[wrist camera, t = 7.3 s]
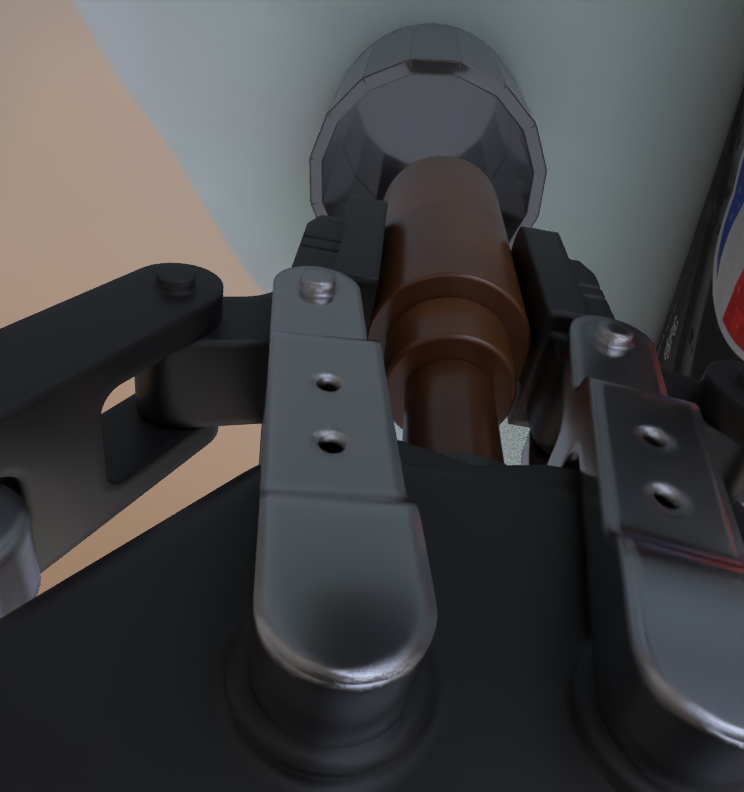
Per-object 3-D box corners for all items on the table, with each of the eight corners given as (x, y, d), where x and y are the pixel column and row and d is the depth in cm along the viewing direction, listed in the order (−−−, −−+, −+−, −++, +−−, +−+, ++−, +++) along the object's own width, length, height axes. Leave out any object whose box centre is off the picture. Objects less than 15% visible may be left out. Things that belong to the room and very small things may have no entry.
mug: (381, -15, 29) (367, 11, 22) (556, 79, 31) (593, 130, 24) (286, 224, 36) (252, 301, 29) (435, 291, 38) (436, 378, 31)
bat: (496, 147, 15) (582, 436, 7) (501, 260, 16) (575, 608, 8) (374, 162, 15) (317, 455, 7) (389, 273, 17) (357, 617, 9)
